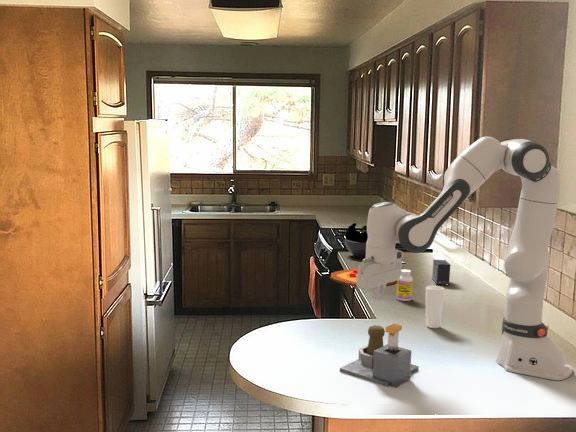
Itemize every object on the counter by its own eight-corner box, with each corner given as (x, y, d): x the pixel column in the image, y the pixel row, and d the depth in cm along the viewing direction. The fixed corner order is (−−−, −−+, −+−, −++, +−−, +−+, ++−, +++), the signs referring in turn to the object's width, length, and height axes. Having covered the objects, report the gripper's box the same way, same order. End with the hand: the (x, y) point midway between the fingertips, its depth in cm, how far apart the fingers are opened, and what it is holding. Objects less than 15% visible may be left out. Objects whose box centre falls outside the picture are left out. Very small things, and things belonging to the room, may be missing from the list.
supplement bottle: (395, 300, 271) (397, 271, 269) (396, 296, 277) (398, 268, 276) (411, 302, 269) (412, 272, 268) (412, 298, 276) (413, 269, 274)
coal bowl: (384, 260, 354) (385, 227, 351) (350, 260, 350) (351, 227, 347) (372, 252, 373) (373, 221, 371) (339, 253, 369) (340, 222, 366)
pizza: (394, 273, 323) (395, 268, 323) (398, 289, 291) (398, 283, 291) (332, 270, 327) (332, 265, 326) (329, 285, 295) (329, 279, 295)
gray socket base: (424, 371, 193) (425, 342, 192) (394, 388, 179) (395, 358, 178) (370, 355, 205) (371, 328, 204) (338, 370, 191) (339, 342, 190)
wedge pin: (400, 356, 185) (402, 325, 184) (392, 360, 182) (394, 329, 180) (392, 353, 187) (393, 323, 186) (383, 358, 184) (385, 327, 182)
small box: (450, 285, 299) (451, 264, 298) (436, 285, 299) (437, 264, 298) (444, 280, 310) (445, 259, 308) (431, 280, 310) (432, 259, 308)
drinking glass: (427, 322, 241) (429, 284, 239) (444, 325, 238) (446, 287, 236) (421, 327, 235) (423, 288, 233) (438, 330, 232) (441, 291, 230)
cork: (371, 355, 203) (373, 322, 201) (388, 359, 199) (389, 326, 197) (361, 360, 198) (363, 326, 196) (378, 365, 194) (380, 330, 193)
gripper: (370, 261, 183) (368, 307, 185) (405, 251, 199) (403, 294, 201) (352, 258, 187) (350, 303, 189) (388, 248, 203) (386, 290, 205)
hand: (378, 298), depth 195 cm, fingers closed
